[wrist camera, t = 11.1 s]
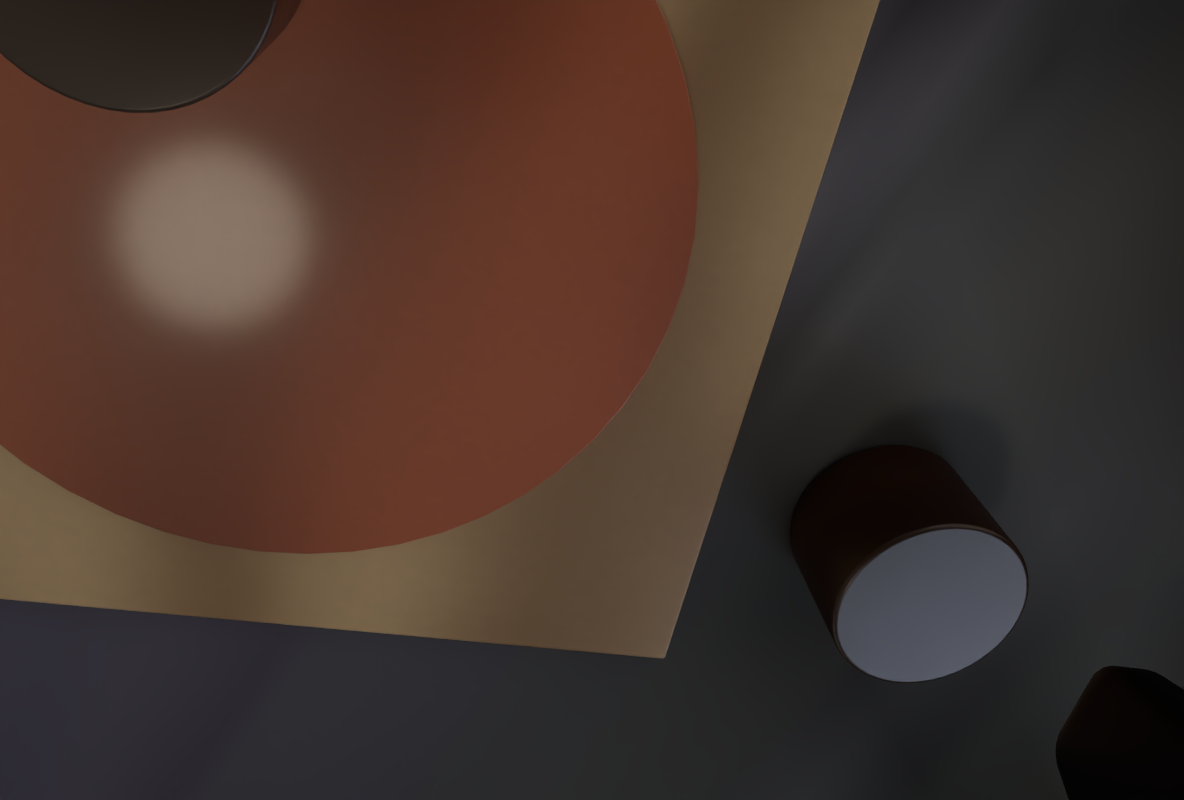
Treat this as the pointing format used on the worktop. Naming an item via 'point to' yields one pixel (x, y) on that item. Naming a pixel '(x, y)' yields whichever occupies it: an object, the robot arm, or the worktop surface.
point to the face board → (409, 314)
